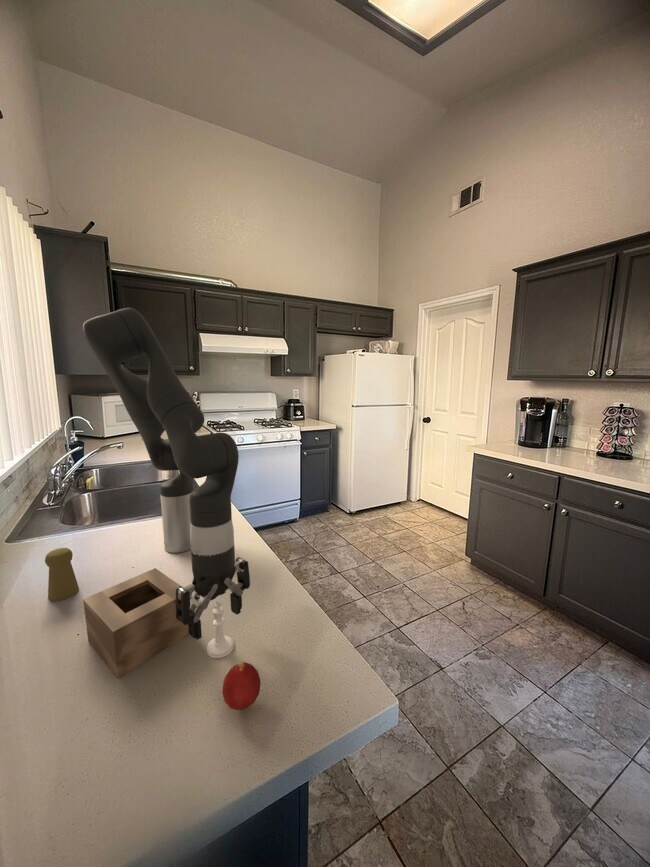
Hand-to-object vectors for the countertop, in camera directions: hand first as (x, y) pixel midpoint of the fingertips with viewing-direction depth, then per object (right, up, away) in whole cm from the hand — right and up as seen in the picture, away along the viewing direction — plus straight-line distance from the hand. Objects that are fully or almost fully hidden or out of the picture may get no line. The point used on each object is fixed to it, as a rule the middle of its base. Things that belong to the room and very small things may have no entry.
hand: (217, 624), depth 66 cm
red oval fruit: (+7, -7, -11) cm, 15 cm away
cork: (-42, -3, +18) cm, 46 cm away
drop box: (-17, -5, +4) cm, 18 cm away
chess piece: (0, -5, +1) cm, 6 cm away
